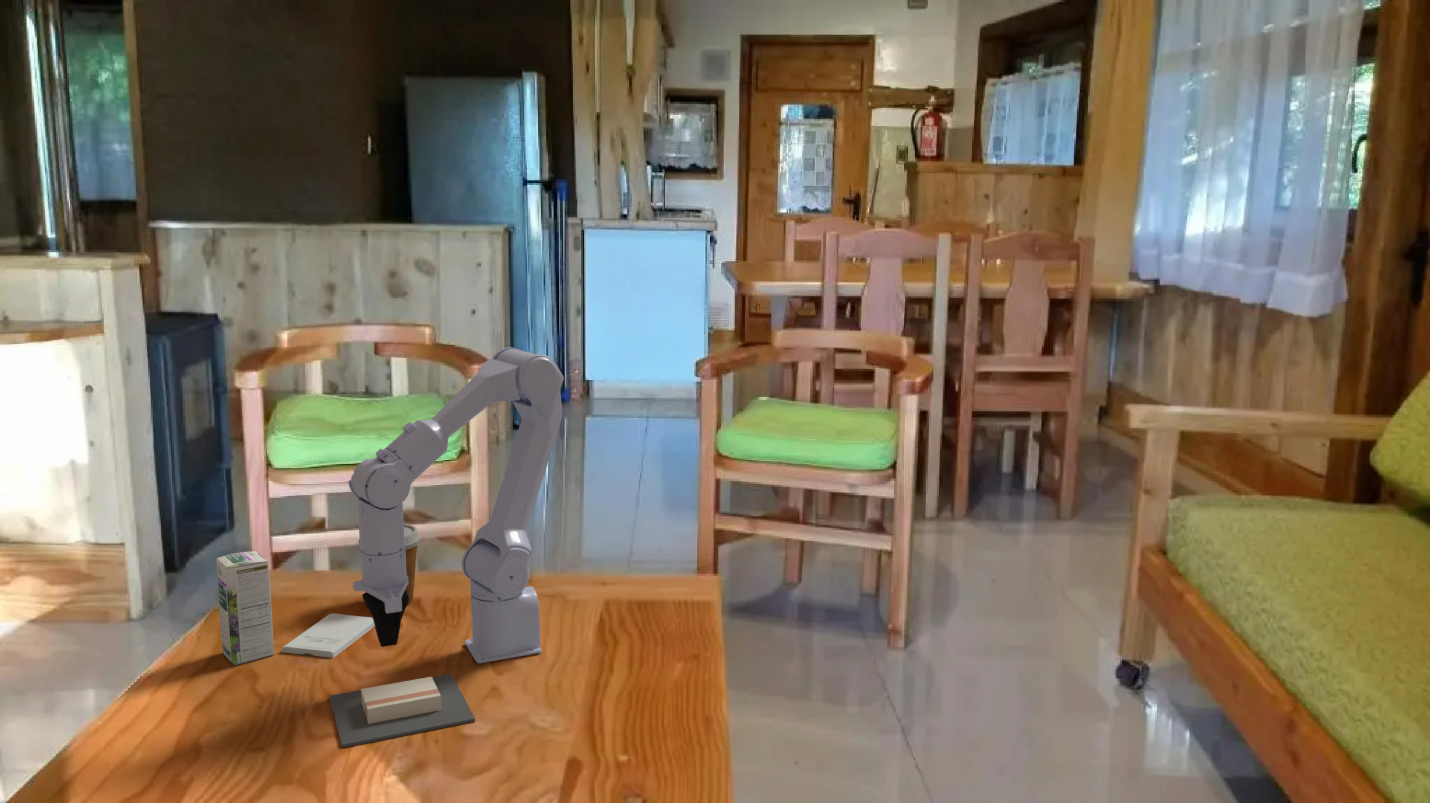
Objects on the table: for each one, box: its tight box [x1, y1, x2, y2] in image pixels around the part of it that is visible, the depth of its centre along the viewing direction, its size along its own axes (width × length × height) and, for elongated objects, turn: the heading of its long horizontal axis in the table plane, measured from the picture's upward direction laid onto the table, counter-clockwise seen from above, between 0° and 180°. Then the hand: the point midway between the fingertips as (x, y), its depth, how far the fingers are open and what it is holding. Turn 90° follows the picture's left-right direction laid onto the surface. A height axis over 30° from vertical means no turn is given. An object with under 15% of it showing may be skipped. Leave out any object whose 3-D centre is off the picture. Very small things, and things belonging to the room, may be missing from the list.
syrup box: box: [215, 550, 275, 666], centre depth 153 cm, size 6×6×14 cm
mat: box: [329, 673, 476, 749], centre depth 139 cm, size 16×14×1 cm
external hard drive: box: [281, 613, 375, 659], centre depth 161 cm, size 2×8×12 cm
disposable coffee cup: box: [358, 523, 421, 605], centre depth 173 cm, size 10×10×12 cm
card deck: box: [360, 676, 441, 724], centre depth 139 cm, size 9×2×6 cm
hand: (388, 643), depth 146 cm, fingers closed
